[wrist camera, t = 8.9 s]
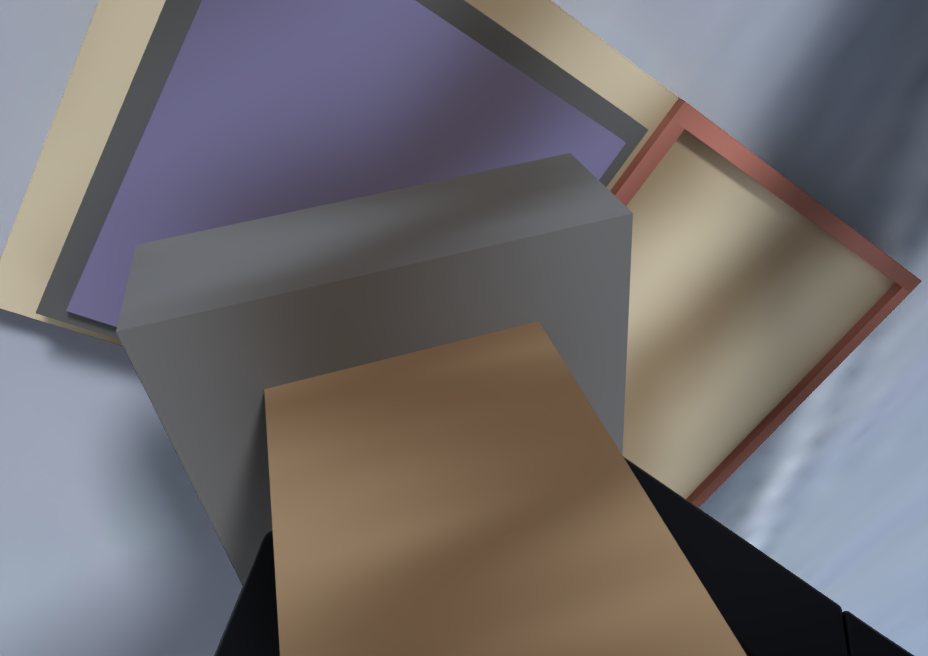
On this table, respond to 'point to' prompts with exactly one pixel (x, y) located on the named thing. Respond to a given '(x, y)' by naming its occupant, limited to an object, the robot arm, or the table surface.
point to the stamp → (422, 419)
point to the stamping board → (442, 157)
